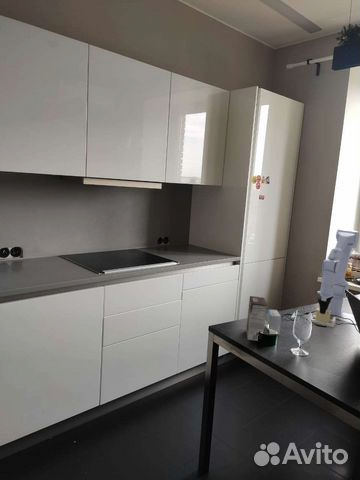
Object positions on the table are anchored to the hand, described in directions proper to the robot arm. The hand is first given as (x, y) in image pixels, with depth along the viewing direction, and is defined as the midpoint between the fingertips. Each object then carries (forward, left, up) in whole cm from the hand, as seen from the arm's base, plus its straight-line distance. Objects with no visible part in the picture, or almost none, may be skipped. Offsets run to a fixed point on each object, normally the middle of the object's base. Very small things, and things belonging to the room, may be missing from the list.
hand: (323, 311), depth 173 cm
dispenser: (0, 0, -6) cm, 6 cm away
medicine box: (+27, -17, -6) cm, 32 cm away
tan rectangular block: (0, 0, -6) cm, 6 cm away
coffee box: (+37, -22, -6) cm, 43 cm away
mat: (0, -9, -6) cm, 11 cm away
